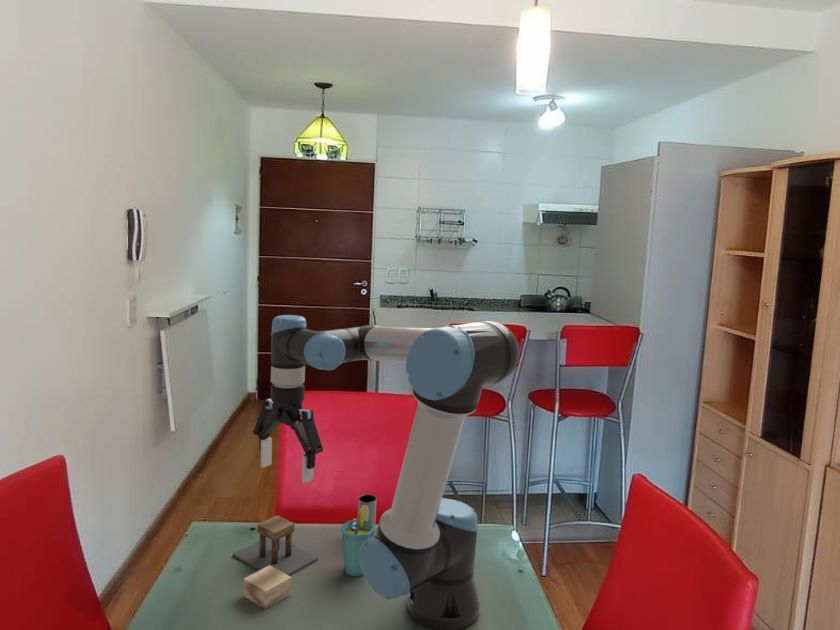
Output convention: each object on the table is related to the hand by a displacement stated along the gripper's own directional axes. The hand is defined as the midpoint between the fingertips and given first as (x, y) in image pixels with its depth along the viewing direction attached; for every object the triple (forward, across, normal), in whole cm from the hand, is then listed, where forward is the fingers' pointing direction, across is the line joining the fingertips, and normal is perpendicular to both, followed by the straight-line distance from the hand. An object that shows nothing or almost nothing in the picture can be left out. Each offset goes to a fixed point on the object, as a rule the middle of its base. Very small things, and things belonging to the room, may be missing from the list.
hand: (286, 473), depth 148 cm
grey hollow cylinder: (+21, -8, -20) cm, 30 cm away
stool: (+20, +2, +2) cm, 20 cm away
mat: (+21, +2, +1) cm, 21 cm away
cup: (+21, -16, -6) cm, 28 cm away
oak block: (+21, -8, +13) cm, 26 cm away
